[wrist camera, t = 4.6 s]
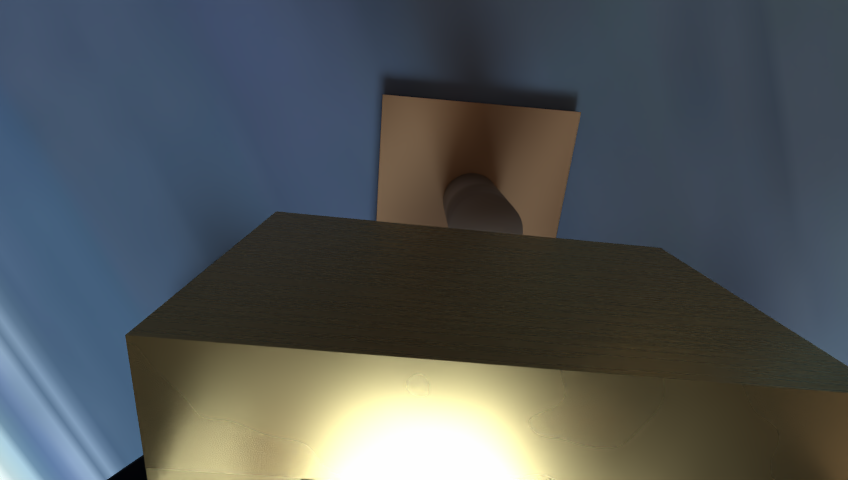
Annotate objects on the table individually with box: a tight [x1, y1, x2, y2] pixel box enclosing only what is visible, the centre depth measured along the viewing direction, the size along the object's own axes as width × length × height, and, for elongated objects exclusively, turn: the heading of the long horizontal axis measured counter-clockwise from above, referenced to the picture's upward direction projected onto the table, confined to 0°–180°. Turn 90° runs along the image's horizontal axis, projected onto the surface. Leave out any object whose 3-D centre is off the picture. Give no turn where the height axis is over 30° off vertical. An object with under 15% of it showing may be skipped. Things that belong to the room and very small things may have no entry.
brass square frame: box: [125, 212, 848, 480], centre depth 7 cm, size 7×7×4 cm
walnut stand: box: [377, 95, 581, 238], centre depth 16 cm, size 8×8×5 cm
